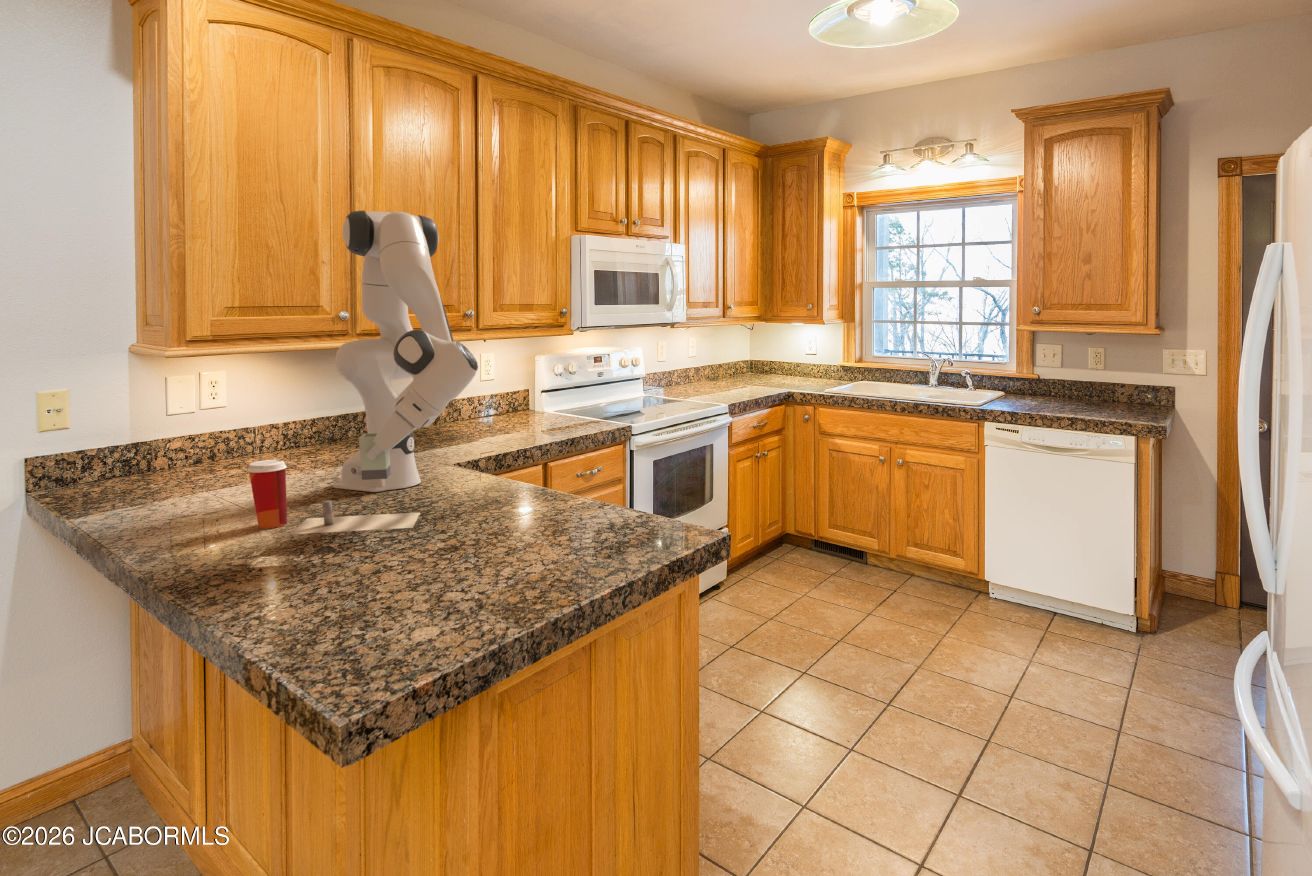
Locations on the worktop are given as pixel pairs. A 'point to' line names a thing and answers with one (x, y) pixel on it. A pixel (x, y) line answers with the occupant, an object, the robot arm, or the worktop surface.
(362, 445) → the sleeve
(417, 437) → the worktop surface
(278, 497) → the paper cup
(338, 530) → the pin board
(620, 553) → the worktop surface
